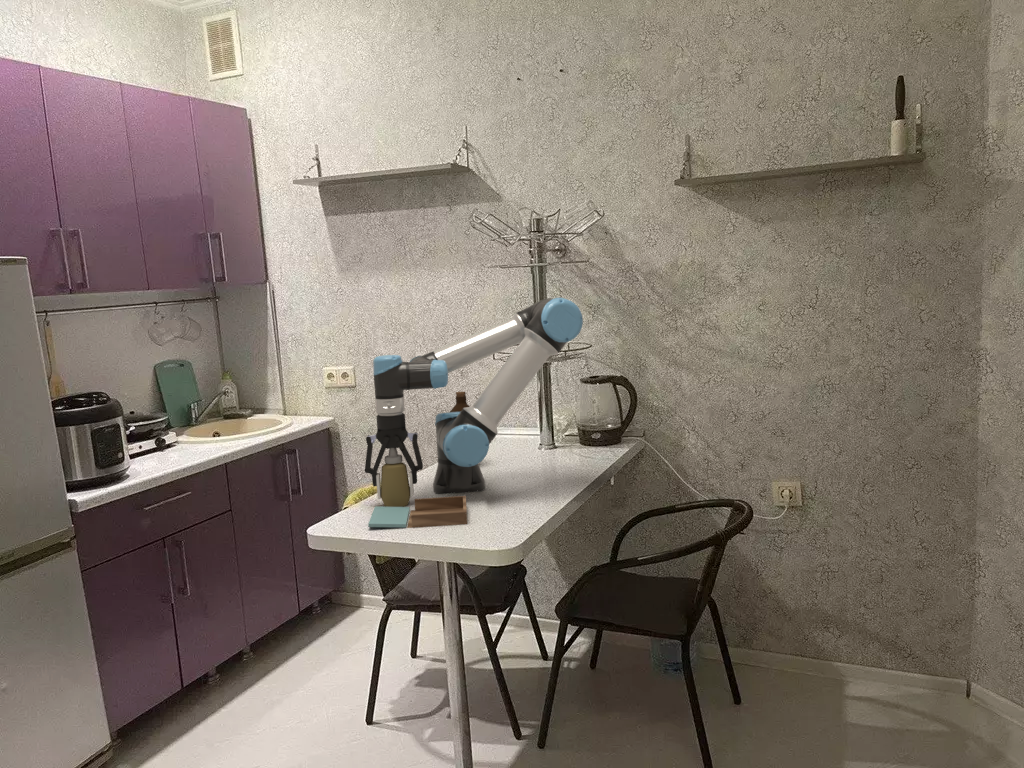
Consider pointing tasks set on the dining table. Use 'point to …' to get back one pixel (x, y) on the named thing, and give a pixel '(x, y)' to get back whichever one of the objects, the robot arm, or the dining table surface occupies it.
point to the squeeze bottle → (394, 481)
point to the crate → (438, 512)
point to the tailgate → (389, 517)
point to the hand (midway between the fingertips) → (395, 496)
